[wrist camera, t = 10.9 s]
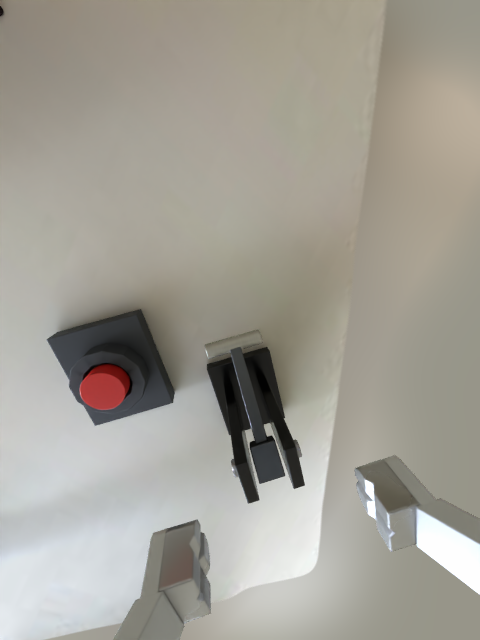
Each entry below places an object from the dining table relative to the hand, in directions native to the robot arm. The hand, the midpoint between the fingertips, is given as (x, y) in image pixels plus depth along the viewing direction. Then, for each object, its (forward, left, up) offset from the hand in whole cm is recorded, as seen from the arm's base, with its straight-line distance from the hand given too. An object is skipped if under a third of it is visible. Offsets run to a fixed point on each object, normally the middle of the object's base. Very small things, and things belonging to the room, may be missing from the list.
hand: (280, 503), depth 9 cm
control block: (+2, -13, -21) cm, 25 cm away
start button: (+2, -13, -17) cm, 22 cm away
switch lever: (+6, 0, -14) cm, 16 cm away
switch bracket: (+10, 0, -21) cm, 23 cm away
